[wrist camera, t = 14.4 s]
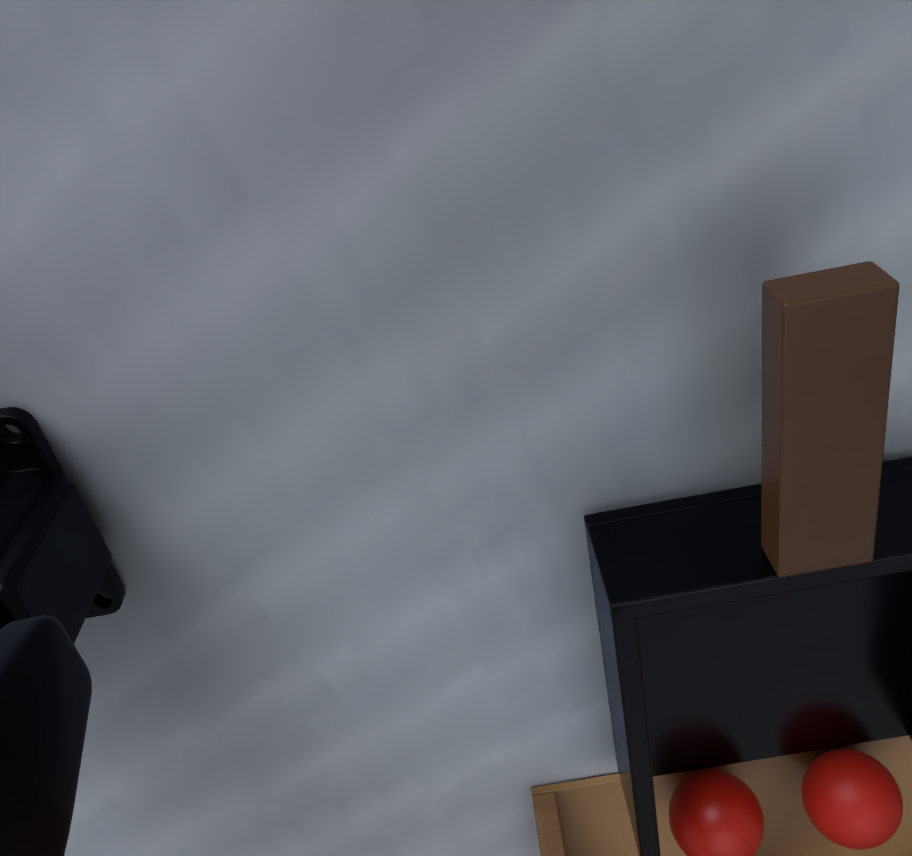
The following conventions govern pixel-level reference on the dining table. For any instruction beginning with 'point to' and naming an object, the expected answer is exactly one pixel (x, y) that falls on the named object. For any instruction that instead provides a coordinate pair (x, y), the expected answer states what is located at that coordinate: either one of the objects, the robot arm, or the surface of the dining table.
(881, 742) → the tray
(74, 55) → the dining table surface
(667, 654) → the pan
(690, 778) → the tomato
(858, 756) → the tomato
